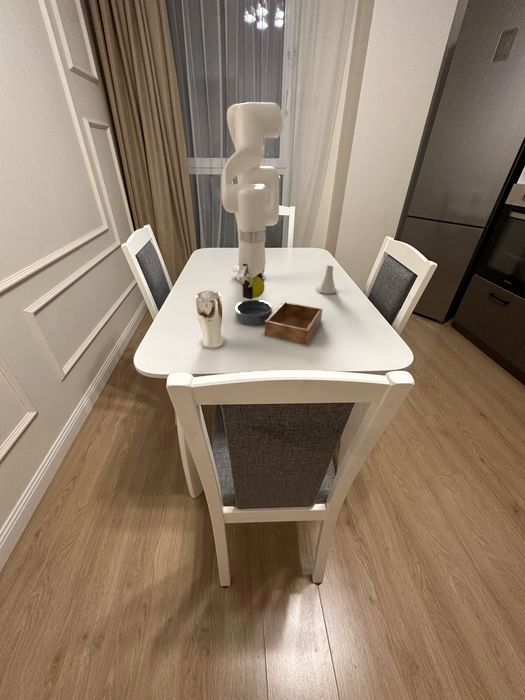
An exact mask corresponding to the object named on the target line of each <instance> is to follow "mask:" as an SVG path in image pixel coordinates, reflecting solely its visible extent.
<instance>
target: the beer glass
mask: <svg viewBox="0 0 525 700" xmlns="http://www.w3.org/2000/svg"><path fill="white" fill-rule="evenodd" d="M222 303H223V302H222V298H221V293H220V292H219V291H215V290H203V291H200V292H198V293H196V294H195V307H196V308H195V309H196V314H197V315H196V316H197V318H198V322H199V325H200V328H201V331H202V345H203V346H204V347H205V348H208V349H216V348H219V347H221V346H222V345H224V338H223V335H222V324H223V304H222Z"/></svg>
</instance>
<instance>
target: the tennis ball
mask: <svg viewBox="0 0 525 700" xmlns="http://www.w3.org/2000/svg"><path fill="white" fill-rule="evenodd" d="M246 280H247V281H248V282H249V279H248V278H246ZM251 286H252V287H253V298H252V299H257V298H260V297H262V296H263V294H264V292H265V283H264V279H263V280H262V279H261V278H260V277H258V276H255V277H254V278H253V280H252V285H251ZM241 288H242V289H243V286H242V285H241Z"/></svg>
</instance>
